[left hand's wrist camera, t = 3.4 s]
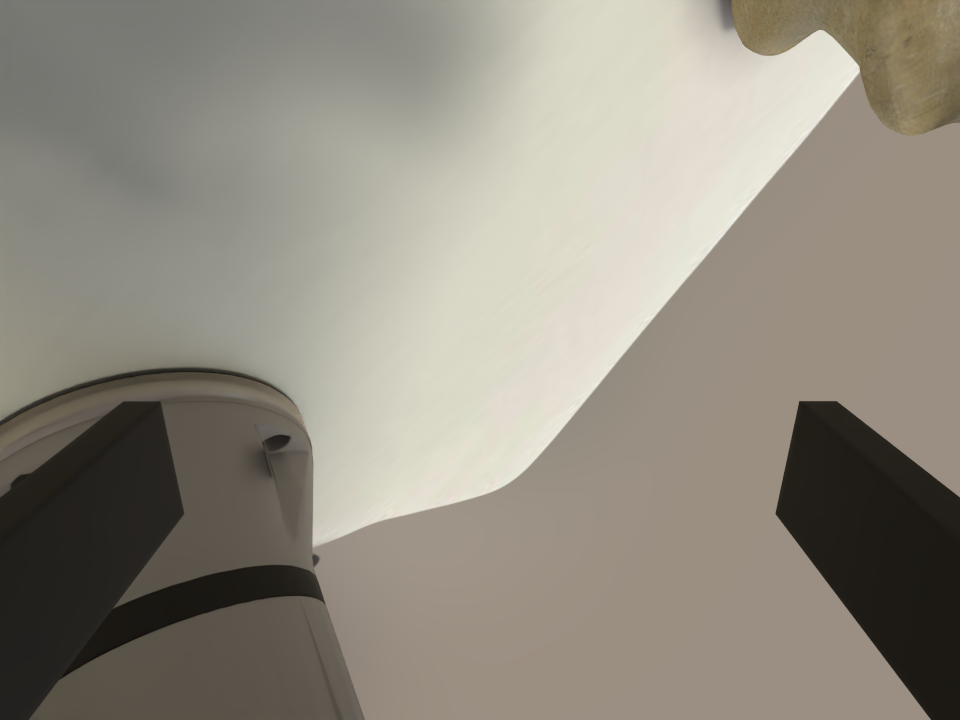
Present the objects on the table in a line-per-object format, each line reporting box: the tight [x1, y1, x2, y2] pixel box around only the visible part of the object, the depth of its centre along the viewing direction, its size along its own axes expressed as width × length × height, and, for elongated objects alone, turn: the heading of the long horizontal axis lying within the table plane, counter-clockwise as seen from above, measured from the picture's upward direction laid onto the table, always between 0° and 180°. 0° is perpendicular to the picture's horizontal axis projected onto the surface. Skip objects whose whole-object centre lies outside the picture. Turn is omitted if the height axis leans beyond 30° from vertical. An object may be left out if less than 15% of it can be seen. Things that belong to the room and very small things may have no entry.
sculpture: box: [731, 0, 960, 136], centre depth 19 cm, size 6×7×15 cm
